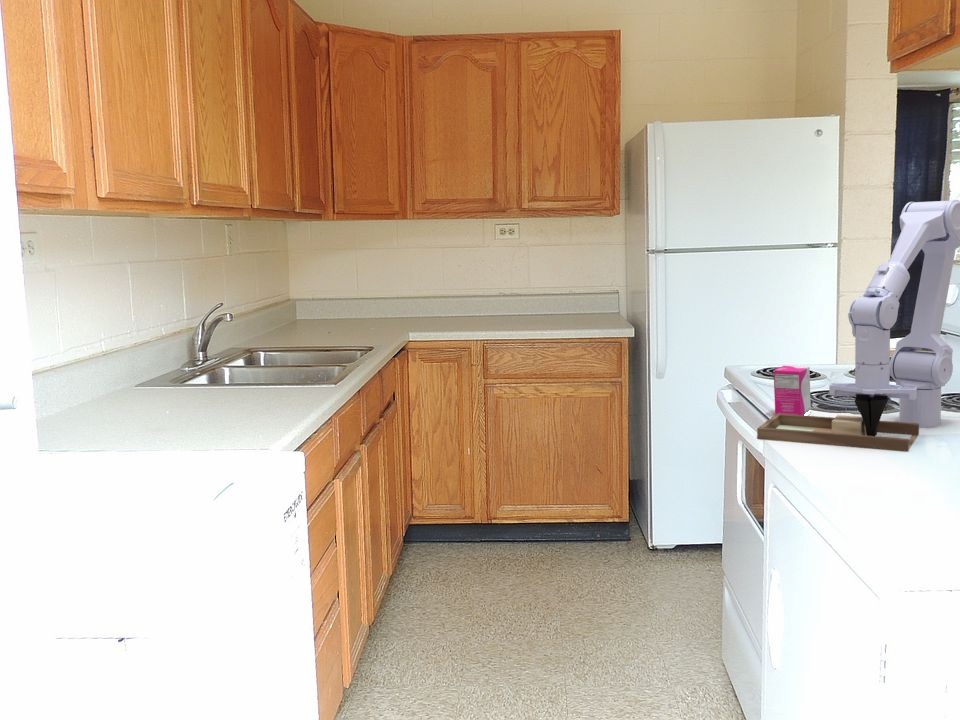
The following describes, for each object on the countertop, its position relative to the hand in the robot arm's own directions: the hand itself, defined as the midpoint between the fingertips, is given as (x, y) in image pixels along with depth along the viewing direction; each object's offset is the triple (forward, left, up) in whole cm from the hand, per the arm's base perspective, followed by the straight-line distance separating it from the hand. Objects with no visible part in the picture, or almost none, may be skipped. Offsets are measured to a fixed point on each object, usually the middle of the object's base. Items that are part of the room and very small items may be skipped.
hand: (871, 435), depth 163 cm
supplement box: (-15, -18, -2) cm, 24 cm away
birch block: (0, -4, -1) cm, 4 cm away
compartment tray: (0, -6, -2) cm, 6 cm away
